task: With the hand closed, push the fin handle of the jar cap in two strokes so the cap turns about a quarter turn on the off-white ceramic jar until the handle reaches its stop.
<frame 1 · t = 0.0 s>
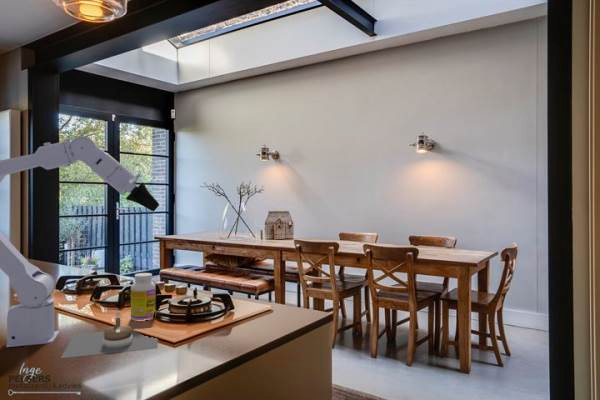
hand: (156, 207, 111), 32 cm above the counter, tool tilted 50°, fingers open, 7 cm apart
supplement bottle: (143, 319, 120), on the counter
cap: (118, 324, 103), point 4 cm above the counter, hinge at 0.0°
mat: (114, 341, 102), on the counter
jar: (118, 343, 100), resting on mat
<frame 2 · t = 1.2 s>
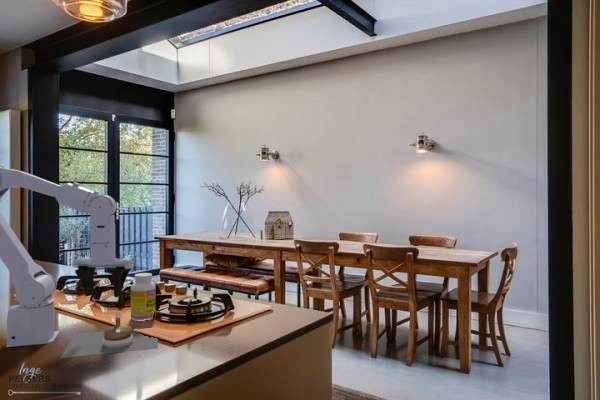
hand: (103, 295, 107), 10 cm above the counter, tool pointing down, fingers open, 7 cm apart
nothing on the counter moved.
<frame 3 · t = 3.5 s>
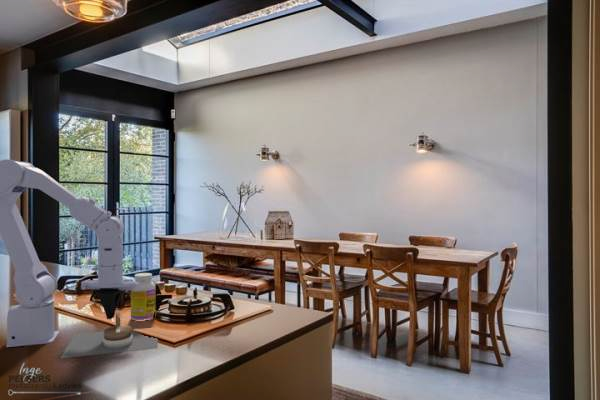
hand: (110, 318, 107), 4 cm above the counter, tool pointing down, fingers closed, pressing on cap
cap: (118, 324, 103), point 4 cm above the counter, hinge at 0.0°, touching gripper
everything else where it was.
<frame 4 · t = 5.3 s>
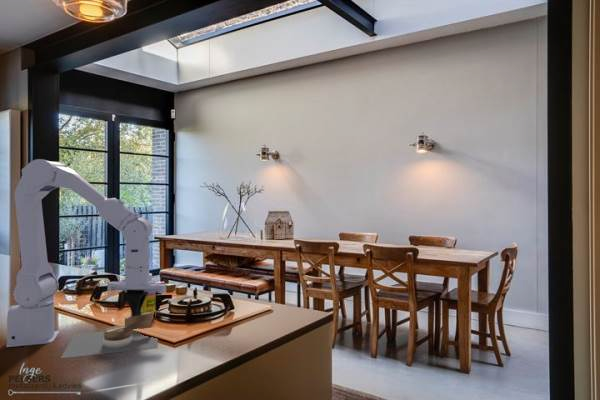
hand: (136, 319, 106), 4 cm above the counter, tool pointing down, fingers closed, pressing on cap
cap: (129, 325, 103), point 4 cm above the counter, hinge at 62.8°, touching gripper
everything else where it was.
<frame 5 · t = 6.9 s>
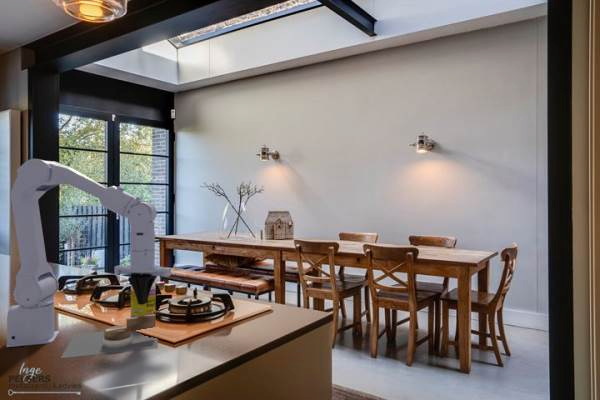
hand: (142, 303, 106), 8 cm above the counter, tool pointing down, fingers closed
cap: (130, 326, 102), point 4 cm above the counter, hinge at 80.3°
everything else where it was.
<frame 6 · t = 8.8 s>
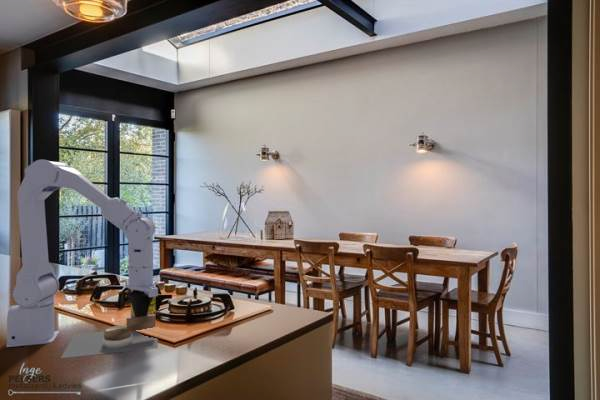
hand: (140, 320, 105), 4 cm above the counter, tool pointing down, fingers closed, pressing on cap
cap: (130, 326, 102), point 4 cm above the counter, hinge at 80.4°, touching gripper
everything else where it was.
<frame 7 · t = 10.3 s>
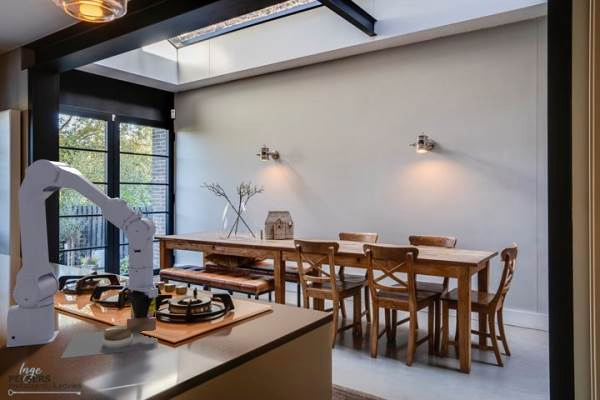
hand: (141, 320, 105), 4 cm above the counter, tool pointing down, fingers closed
cap: (130, 327, 101), point 4 cm above the counter, hinge at 97.1°
everything else where it was.
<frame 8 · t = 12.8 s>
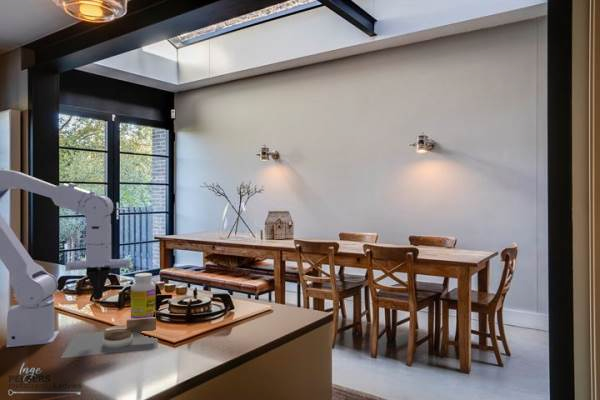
hand: (99, 297, 105), 10 cm above the counter, tool pointing down, fingers closed
nothing on the counter moved.
at the end: cap at +97° (first picture: +0°); the gripper is holding nothing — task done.
